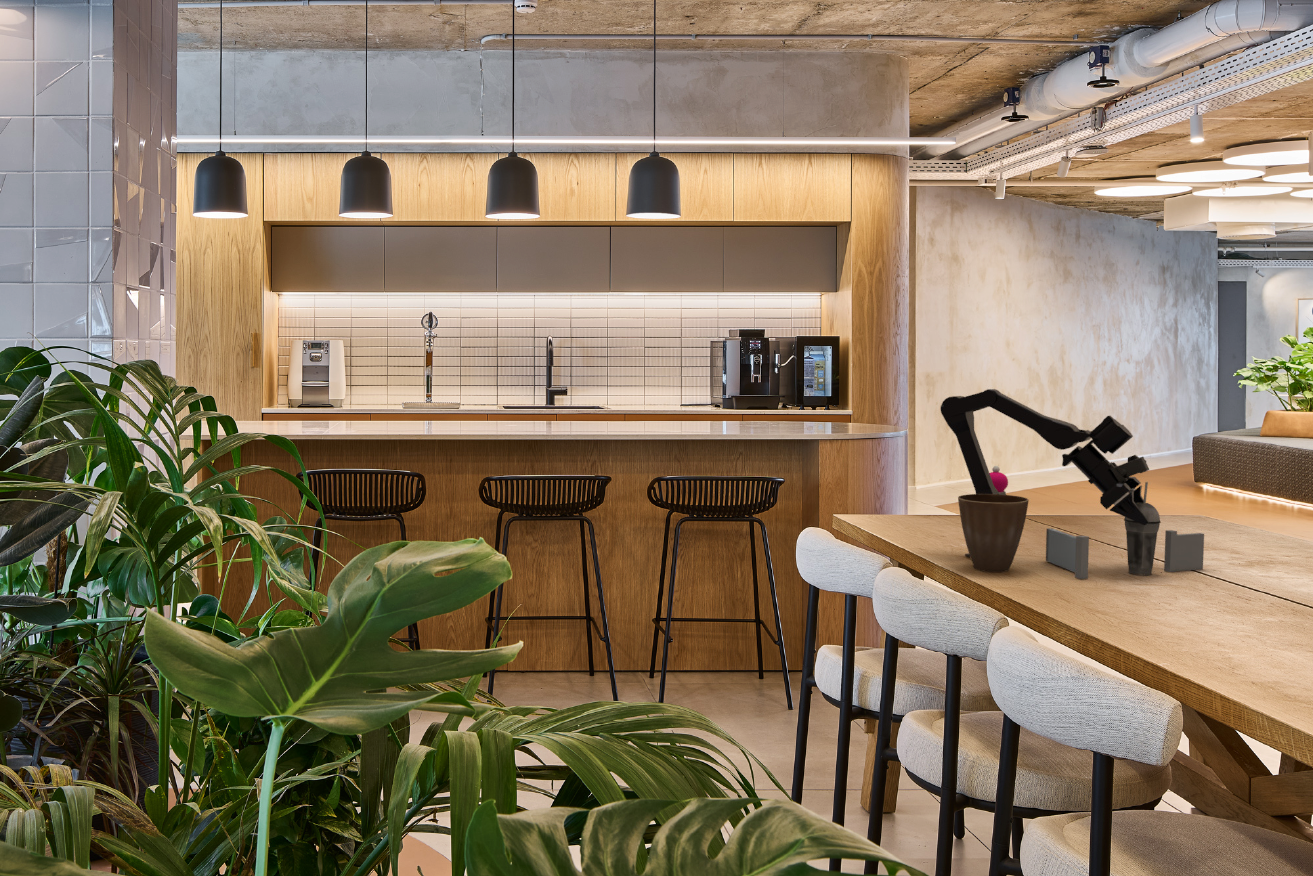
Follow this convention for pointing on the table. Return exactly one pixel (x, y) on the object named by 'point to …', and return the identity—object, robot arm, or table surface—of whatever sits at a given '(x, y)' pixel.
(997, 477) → the pepper mill
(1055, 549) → the grey thin rectangular panel
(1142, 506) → the beverage cup
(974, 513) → the plant pot
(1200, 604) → the table surface
